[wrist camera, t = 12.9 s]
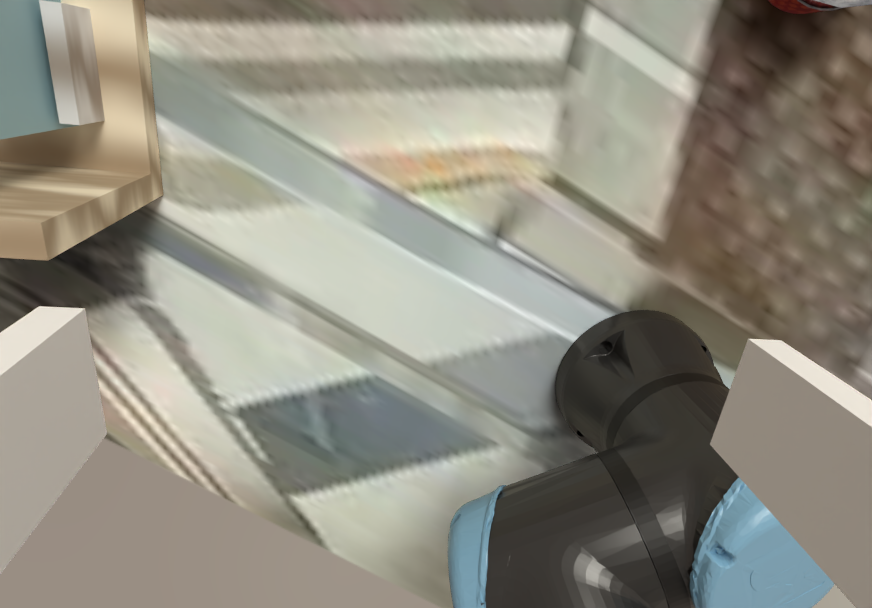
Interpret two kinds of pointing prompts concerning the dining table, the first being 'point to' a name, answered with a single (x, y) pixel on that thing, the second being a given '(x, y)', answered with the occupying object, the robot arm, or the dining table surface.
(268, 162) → the dining table surface
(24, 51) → the door
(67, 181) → the hinge base
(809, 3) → the canned food
